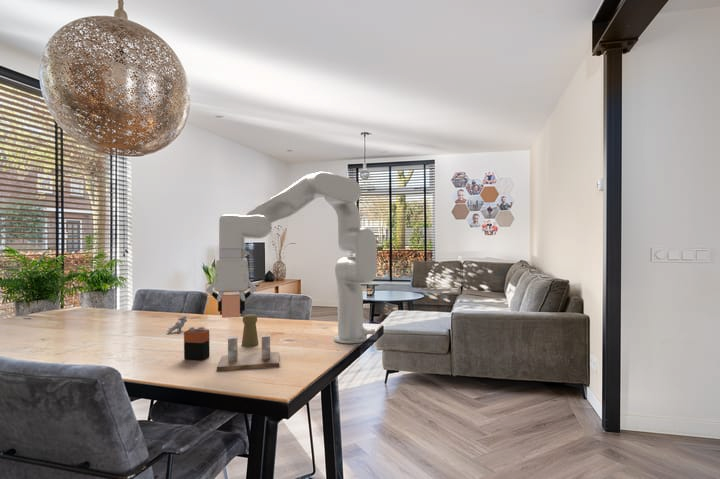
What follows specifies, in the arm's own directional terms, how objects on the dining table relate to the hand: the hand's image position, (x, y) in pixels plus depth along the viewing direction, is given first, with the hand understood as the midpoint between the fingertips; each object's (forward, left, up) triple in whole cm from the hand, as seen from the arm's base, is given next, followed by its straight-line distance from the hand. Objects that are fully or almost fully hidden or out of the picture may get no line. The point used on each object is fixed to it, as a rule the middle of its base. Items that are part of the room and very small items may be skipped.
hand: (231, 313), depth 127 cm
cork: (-4, -23, -16) cm, 28 cm away
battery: (+12, -9, -16) cm, 22 cm away
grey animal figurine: (+26, -52, -16) cm, 60 cm away
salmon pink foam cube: (0, 0, -1) cm, 1 cm away
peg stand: (-5, 0, -16) cm, 17 cm away
